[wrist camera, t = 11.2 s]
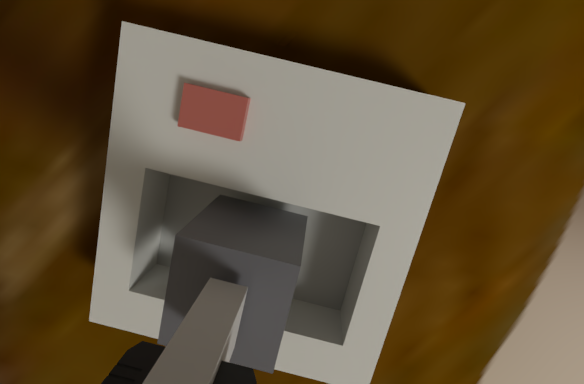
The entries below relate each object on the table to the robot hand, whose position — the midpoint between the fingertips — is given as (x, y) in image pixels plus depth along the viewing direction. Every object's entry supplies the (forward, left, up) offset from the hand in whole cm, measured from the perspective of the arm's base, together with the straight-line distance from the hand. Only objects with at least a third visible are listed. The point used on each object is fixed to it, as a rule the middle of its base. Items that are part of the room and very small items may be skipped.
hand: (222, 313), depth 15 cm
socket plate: (-2, 0, -9) cm, 9 cm away
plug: (0, 0, -9) cm, 9 cm away
